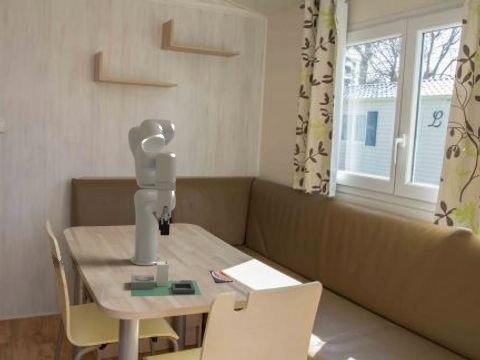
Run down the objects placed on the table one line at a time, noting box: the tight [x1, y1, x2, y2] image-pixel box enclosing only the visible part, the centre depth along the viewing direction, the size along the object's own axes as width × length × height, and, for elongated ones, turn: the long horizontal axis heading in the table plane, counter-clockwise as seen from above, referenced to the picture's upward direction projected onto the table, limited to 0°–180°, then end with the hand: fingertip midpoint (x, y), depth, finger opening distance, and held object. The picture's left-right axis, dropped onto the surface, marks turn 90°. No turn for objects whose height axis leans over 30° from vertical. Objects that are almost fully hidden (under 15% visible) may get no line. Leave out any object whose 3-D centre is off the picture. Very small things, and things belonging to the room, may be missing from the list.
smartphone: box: [209, 270, 234, 284], centre depth 200 cm, size 8×1×15 cm
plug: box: [155, 261, 170, 286], centre depth 183 cm, size 4×4×8 cm
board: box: [130, 274, 202, 297], centre depth 180 cm, size 16×24×4 cm, turn 102°
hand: (163, 232), depth 184 cm, fingers open, 9 cm apart
